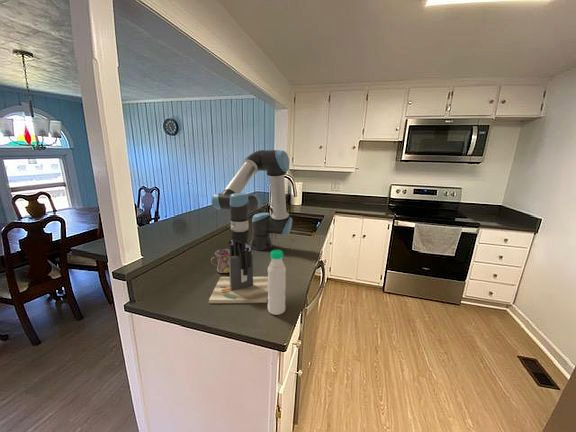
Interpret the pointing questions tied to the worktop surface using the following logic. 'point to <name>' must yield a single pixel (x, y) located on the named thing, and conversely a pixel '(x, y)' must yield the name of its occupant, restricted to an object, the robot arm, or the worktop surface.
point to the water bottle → (276, 283)
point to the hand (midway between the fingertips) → (240, 279)
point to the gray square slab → (238, 273)
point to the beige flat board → (241, 292)
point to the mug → (222, 260)
